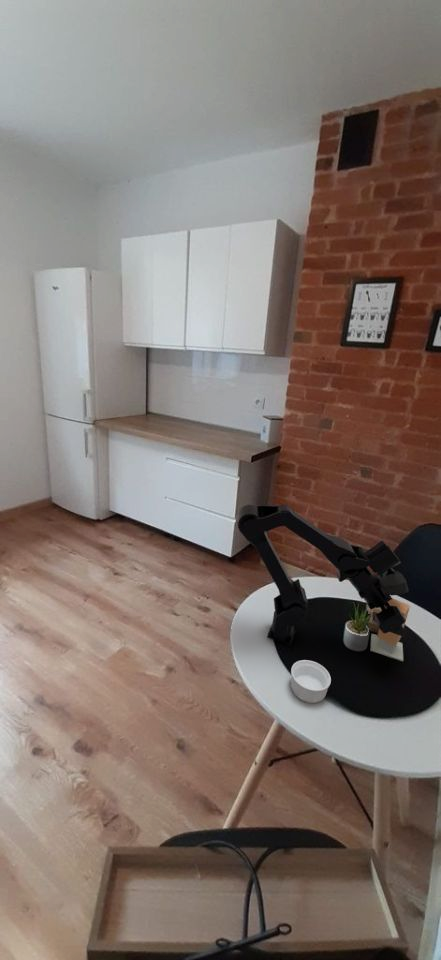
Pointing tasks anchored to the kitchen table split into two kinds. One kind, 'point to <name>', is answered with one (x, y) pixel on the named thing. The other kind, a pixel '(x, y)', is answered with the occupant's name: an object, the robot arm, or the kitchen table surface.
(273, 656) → the kitchen table surface
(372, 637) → the mat
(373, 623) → the header
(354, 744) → the kitchen table surface
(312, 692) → the ramekin
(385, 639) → the orange rectangular block
